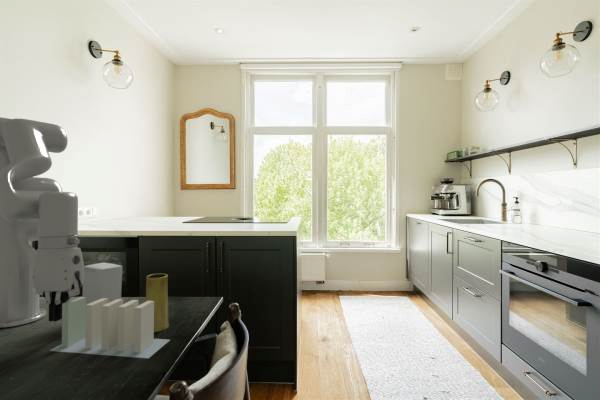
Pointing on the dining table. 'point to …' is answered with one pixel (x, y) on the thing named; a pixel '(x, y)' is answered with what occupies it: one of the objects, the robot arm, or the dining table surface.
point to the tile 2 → (94, 323)
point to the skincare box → (102, 282)
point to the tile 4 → (126, 325)
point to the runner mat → (113, 349)
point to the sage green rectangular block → (73, 321)
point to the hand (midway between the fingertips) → (57, 319)
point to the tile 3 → (110, 324)
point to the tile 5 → (143, 326)
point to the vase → (158, 299)
